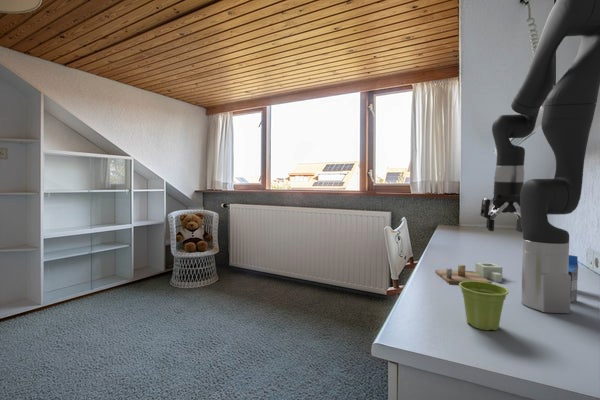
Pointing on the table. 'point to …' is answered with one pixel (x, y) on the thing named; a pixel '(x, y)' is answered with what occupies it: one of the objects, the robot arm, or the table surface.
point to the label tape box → (573, 276)
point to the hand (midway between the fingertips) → (505, 231)
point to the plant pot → (483, 303)
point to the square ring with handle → (489, 271)
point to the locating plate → (459, 279)
